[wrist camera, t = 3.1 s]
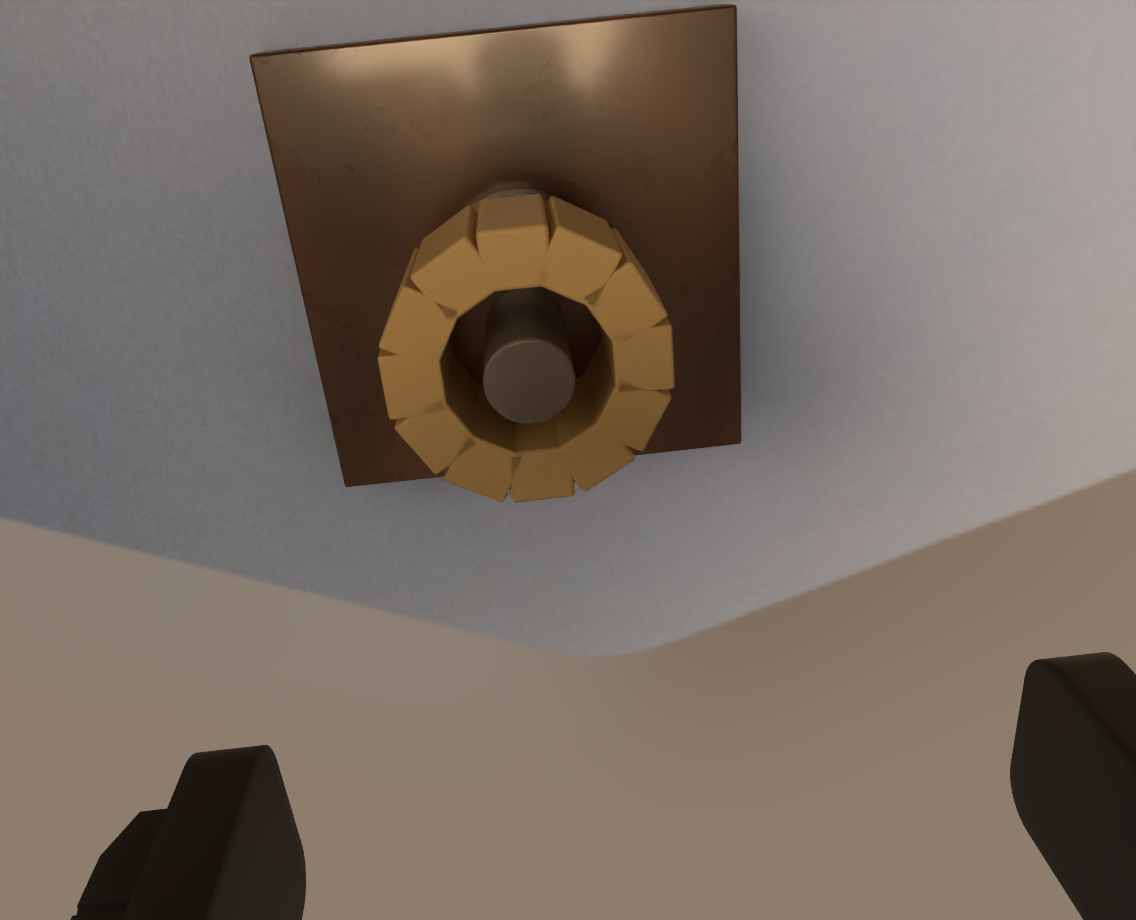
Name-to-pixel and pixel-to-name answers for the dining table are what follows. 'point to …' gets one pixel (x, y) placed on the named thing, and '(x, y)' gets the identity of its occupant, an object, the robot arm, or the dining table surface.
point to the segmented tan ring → (458, 403)
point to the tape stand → (508, 169)
